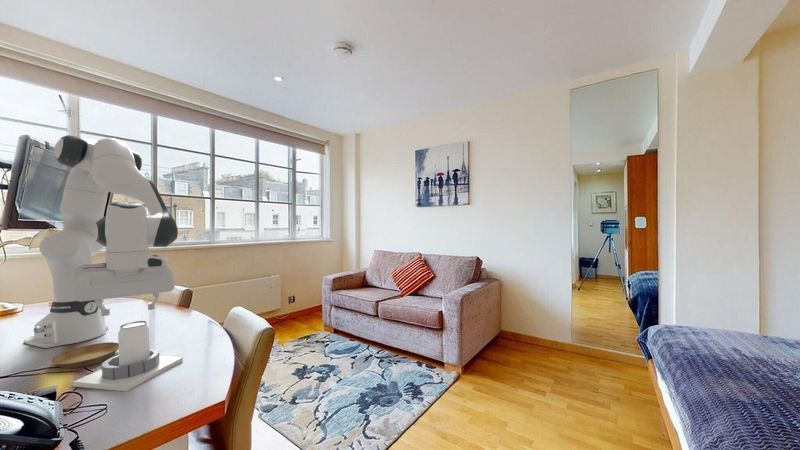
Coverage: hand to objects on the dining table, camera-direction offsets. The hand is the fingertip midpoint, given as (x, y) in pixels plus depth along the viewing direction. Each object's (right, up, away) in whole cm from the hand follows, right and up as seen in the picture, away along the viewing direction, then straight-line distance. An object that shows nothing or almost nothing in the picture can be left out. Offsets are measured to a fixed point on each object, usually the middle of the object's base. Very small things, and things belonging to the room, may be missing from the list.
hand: (129, 312), depth 84 cm
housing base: (0, -17, 0) cm, 17 cm away
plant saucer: (-21, -17, +9) cm, 28 cm away
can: (0, -16, +1) cm, 16 cm away
